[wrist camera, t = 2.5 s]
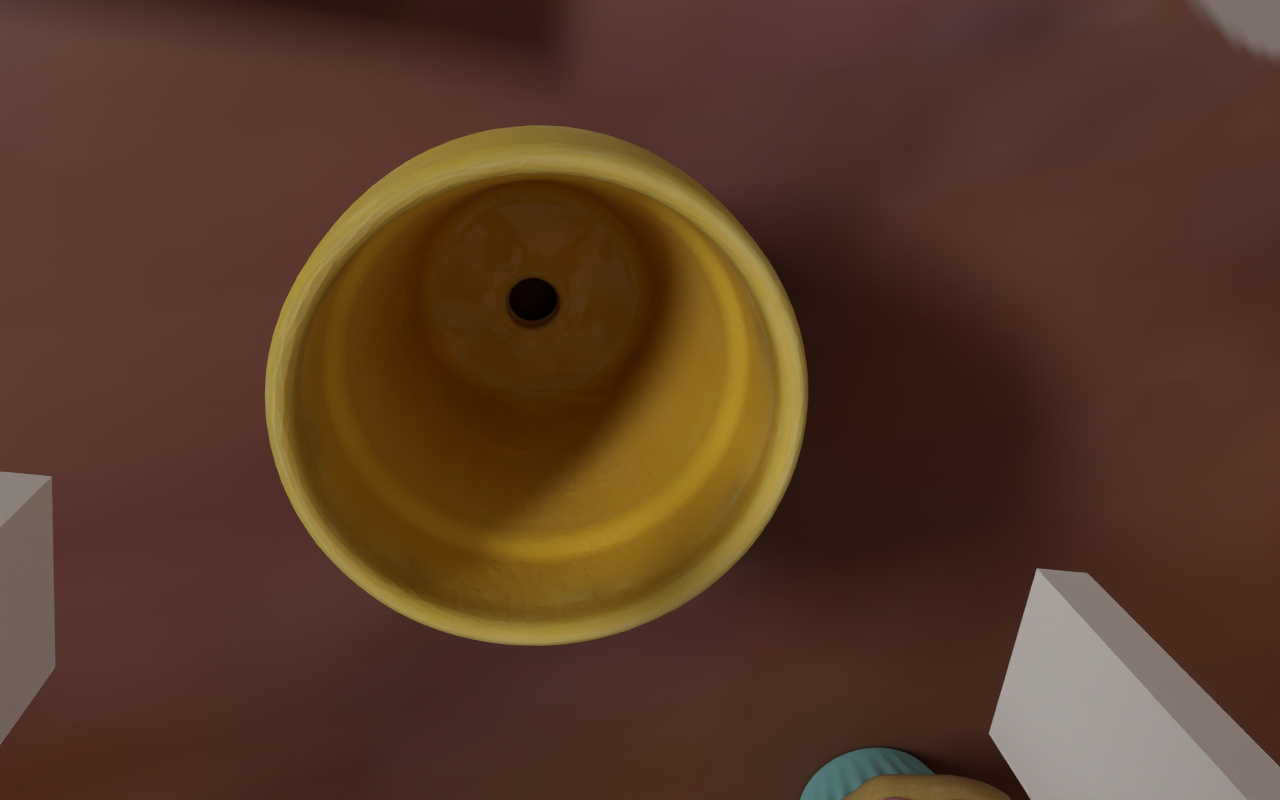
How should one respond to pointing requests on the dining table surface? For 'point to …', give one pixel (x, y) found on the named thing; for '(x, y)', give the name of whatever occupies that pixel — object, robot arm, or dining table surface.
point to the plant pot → (536, 389)
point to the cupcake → (891, 780)
